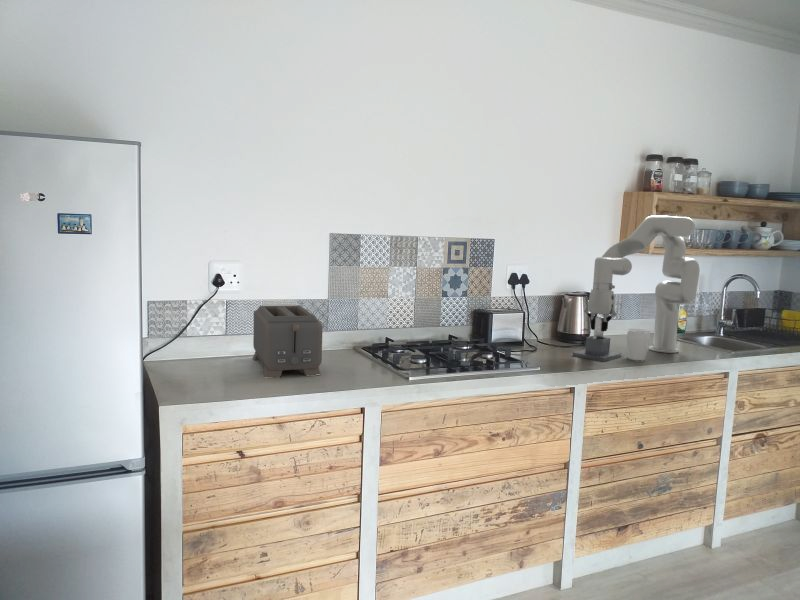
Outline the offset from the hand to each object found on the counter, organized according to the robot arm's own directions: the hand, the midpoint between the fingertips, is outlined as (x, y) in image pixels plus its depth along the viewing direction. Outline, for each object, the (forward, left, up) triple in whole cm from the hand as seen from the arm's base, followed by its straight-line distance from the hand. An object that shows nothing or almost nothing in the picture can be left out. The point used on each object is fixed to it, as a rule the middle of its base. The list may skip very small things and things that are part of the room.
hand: (599, 329), depth 274 cm
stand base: (0, 0, -11) cm, 11 cm away
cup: (-9, +13, -12) cm, 20 cm away
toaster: (+116, -61, -12) cm, 132 cm away
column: (0, 0, -8) cm, 8 cm away
